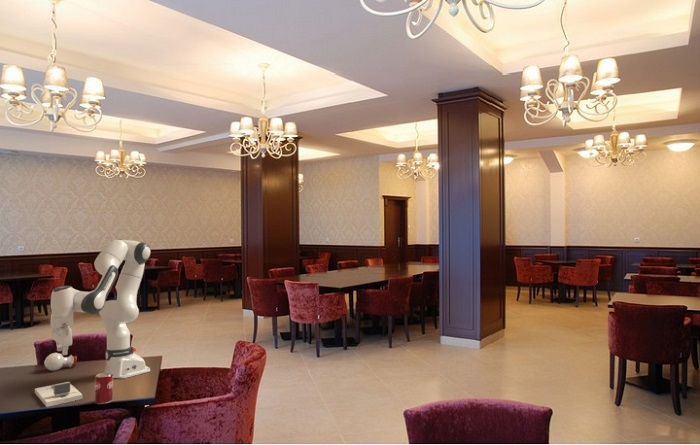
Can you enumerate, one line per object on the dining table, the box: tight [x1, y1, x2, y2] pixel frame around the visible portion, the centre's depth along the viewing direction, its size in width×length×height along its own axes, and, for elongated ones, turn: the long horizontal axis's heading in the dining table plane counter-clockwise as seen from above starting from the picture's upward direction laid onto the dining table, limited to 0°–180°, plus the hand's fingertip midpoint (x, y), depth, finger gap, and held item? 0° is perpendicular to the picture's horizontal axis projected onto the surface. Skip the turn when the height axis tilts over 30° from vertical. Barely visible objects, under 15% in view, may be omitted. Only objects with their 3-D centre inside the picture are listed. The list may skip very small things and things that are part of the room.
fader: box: [53, 381, 71, 397], centre depth 214 cm, size 6×4×5 cm, turn 133°
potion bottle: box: [43, 352, 77, 372], centre depth 261 cm, size 9×10×15 cm
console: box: [34, 383, 83, 408], centre depth 219 cm, size 14×25×2 cm, turn 43°
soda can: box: [94, 372, 114, 405], centre depth 211 cm, size 7×7×12 cm
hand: (62, 352), depth 214 cm, fingers open, 8 cm apart
